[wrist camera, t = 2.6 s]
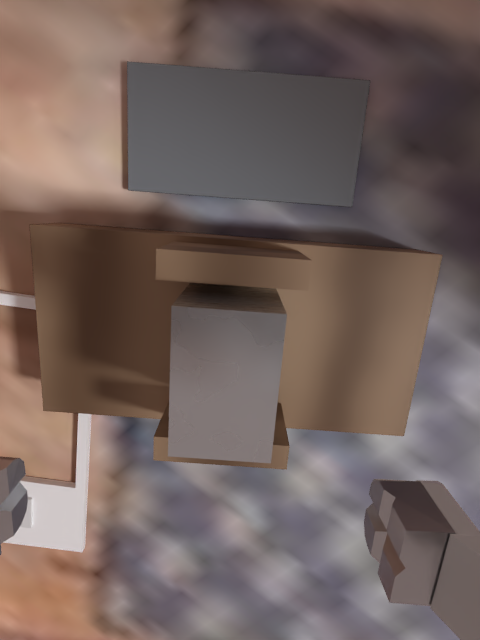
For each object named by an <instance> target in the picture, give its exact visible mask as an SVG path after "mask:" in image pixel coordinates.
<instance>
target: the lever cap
mask: <svg viewBox="0 0 480 640" xmlns="http://www.w3.org/2000/svg"><path fill="white" fill-rule="evenodd" d="M286 320H287V313H286V311H285V308H284V306H283V303H282V301H281V299H280V296H279V294H278V292H277V289H275V288H261V287H247V286H234V285H220V284H206V283H193V282H190V283H189V285H188V286H187V287H186V288H185V290H184V291H183V292H182V293H181V295H180V296H179V297H178V298H177V300H176V301H175V302H174V303H173V305H172V306H171V347H170V389H169V431H168V456H170V457H185V458H199V459H214V460H228V461H242V462H257V463H271V458H272V449H273V439H274V430H275V421H276V412H277V402H278V393H279V384H280V375H281V366H282V356H283V347H284V338H285V329H286Z"/></svg>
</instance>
